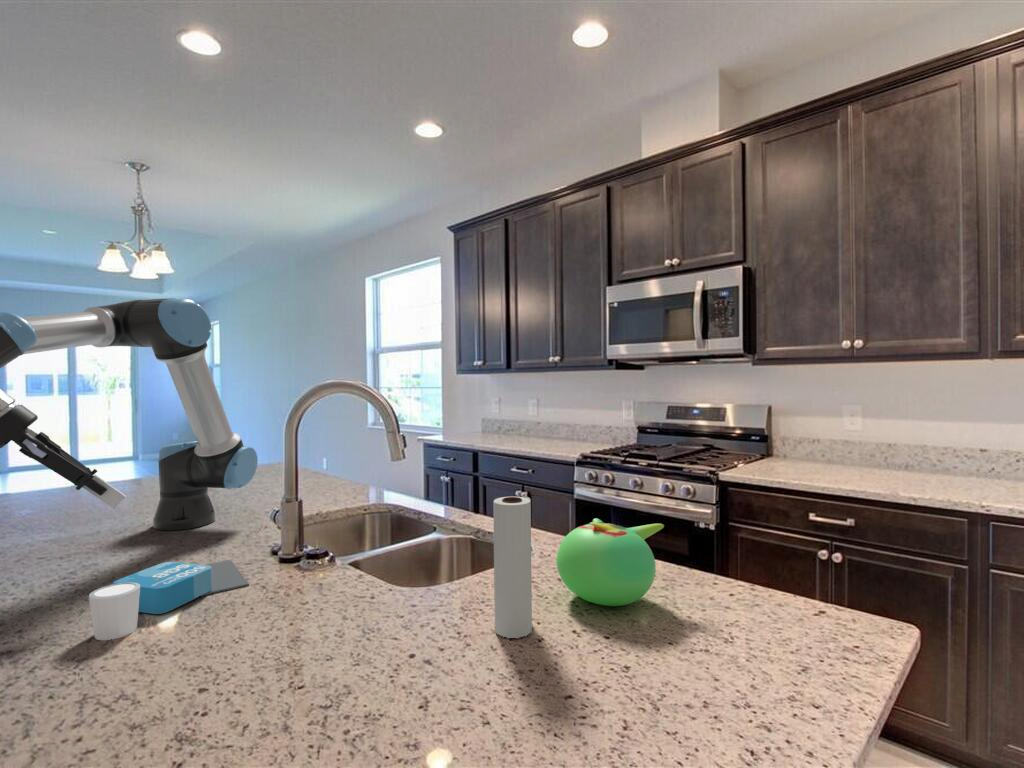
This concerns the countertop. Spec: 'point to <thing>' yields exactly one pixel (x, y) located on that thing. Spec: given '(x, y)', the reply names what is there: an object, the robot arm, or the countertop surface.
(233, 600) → the countertop surface
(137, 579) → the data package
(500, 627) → the paper towel roll
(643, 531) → the green rounded piece
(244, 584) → the mat
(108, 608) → the white short cylinder
